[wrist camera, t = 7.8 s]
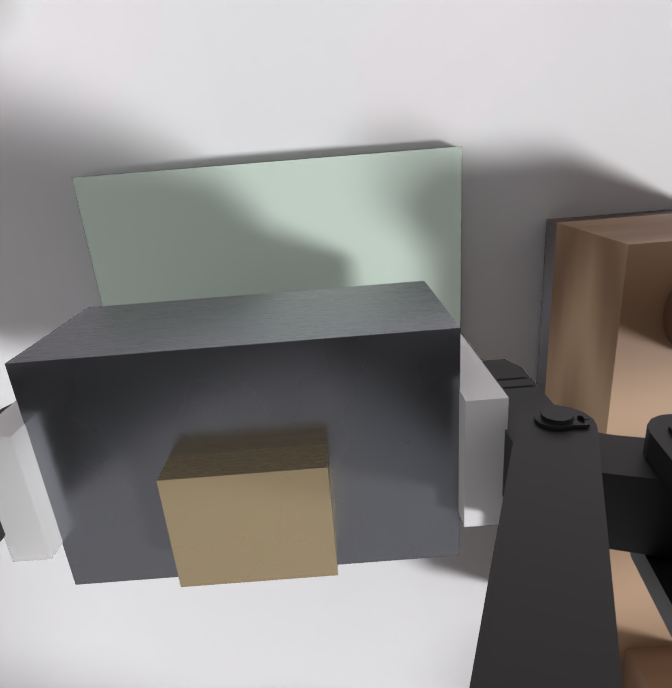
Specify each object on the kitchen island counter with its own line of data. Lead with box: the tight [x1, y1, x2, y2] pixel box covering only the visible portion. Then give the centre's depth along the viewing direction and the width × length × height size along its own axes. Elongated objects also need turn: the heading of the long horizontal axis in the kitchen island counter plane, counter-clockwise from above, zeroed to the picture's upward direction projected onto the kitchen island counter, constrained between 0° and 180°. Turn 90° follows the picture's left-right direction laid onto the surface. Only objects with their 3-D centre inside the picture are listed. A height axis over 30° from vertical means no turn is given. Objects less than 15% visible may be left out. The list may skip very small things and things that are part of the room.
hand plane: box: [536, 210, 672, 688], centre depth 16 cm, size 16×5×9 cm, turn 4°
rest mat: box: [72, 146, 462, 326], centre depth 18 cm, size 11×12×1 cm
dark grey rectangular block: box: [5, 281, 461, 587], centre depth 11 cm, size 5×8×4 cm, turn 94°
